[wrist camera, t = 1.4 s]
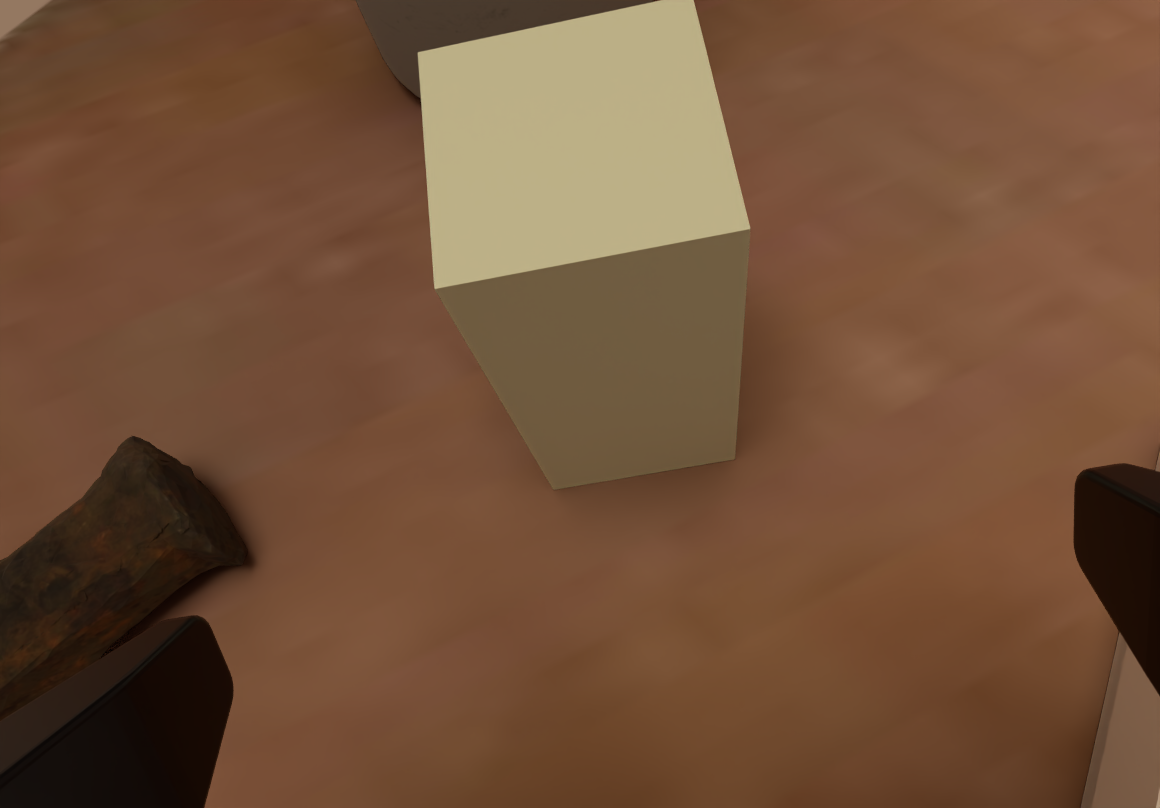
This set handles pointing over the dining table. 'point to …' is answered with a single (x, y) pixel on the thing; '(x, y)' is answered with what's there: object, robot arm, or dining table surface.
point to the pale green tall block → (592, 237)
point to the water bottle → (461, 24)
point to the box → (1126, 738)
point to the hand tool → (105, 568)
